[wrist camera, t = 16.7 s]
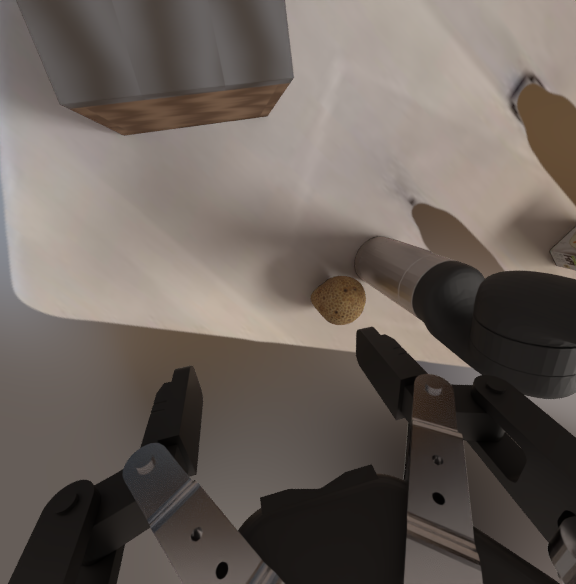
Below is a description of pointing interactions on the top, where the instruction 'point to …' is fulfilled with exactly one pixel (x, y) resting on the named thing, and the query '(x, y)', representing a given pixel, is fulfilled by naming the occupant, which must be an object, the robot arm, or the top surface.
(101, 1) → the box
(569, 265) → the coffee box
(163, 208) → the top surface
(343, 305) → the natural sponge
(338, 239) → the top surface
